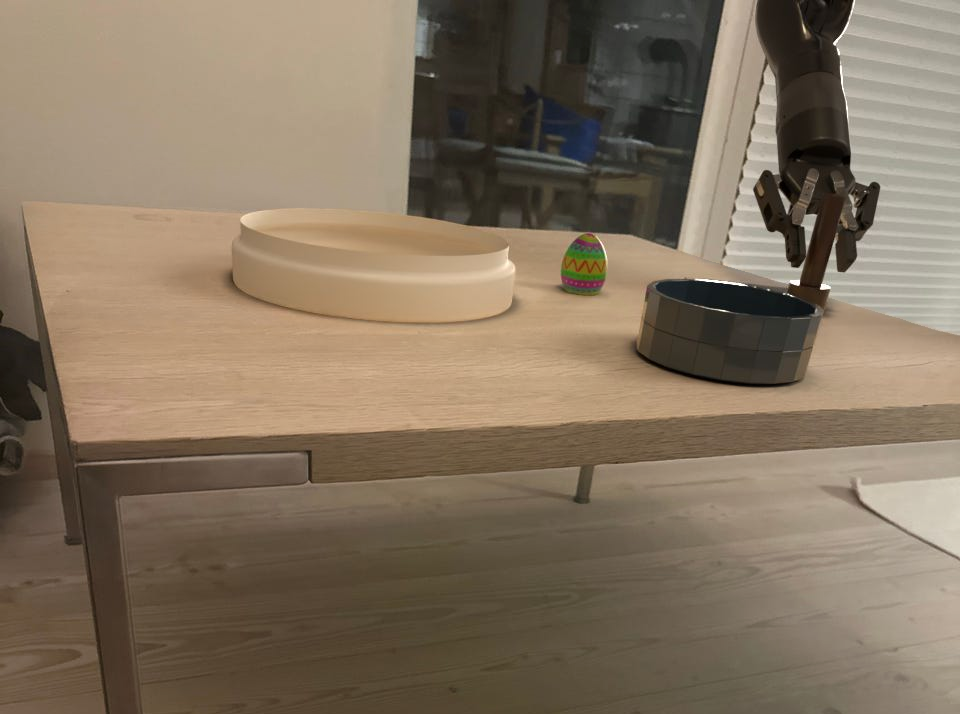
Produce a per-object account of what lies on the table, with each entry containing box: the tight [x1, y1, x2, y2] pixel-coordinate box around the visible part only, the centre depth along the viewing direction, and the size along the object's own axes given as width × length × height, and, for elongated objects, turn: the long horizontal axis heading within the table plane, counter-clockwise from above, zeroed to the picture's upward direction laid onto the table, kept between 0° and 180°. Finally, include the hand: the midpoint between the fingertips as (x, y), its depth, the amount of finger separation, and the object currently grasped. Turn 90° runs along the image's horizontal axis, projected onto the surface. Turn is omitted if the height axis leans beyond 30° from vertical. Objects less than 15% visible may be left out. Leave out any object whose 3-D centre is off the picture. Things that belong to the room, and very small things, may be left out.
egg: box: [560, 232, 608, 296], centre depth 98 cm, size 5×5×6 cm
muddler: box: [787, 193, 846, 317], centre depth 100 cm, size 4×4×12 cm
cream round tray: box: [231, 207, 516, 324], centre depth 89 cm, size 27×27×6 cm
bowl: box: [635, 278, 825, 385], centre depth 77 cm, size 14×14×6 cm
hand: (822, 264), depth 99 cm, fingers open, 4 cm apart
